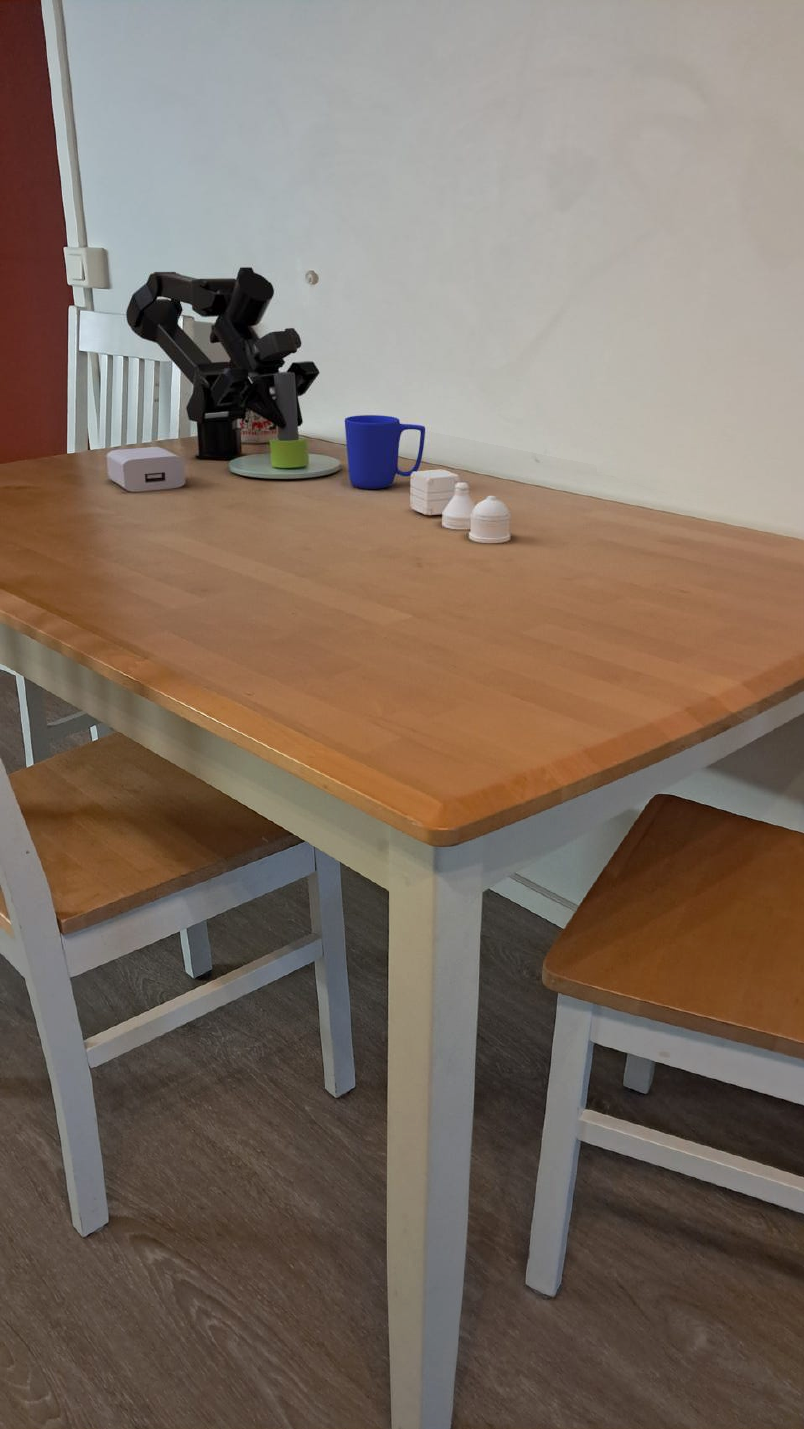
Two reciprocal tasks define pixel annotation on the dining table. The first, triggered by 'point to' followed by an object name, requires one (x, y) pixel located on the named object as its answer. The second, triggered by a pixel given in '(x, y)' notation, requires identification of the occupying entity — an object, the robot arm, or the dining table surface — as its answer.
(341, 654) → the dining table surface
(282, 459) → the sponge wand
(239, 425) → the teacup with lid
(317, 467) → the plate
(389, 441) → the mug
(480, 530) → the container set
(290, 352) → the robot arm
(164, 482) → the charger
